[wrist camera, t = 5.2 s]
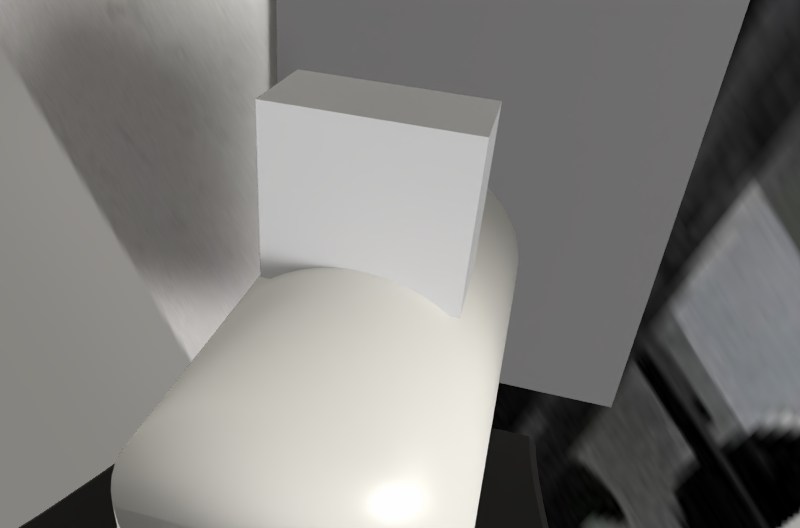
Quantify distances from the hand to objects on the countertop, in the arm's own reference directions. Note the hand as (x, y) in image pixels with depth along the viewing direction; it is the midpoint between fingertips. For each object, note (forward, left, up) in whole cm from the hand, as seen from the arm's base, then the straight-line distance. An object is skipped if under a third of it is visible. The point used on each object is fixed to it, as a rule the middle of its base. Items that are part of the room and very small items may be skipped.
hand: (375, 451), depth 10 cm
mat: (0, 0, -9) cm, 9 cm away
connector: (0, 0, -1) cm, 1 cm away
